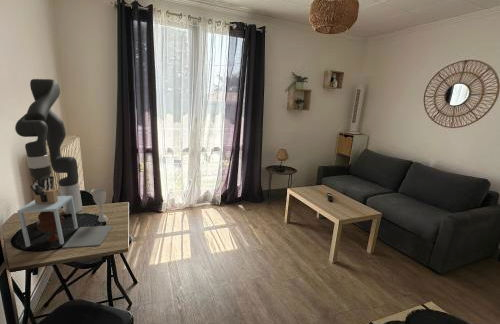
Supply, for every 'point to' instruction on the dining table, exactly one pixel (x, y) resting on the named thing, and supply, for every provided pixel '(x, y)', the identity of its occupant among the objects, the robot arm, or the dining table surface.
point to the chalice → (100, 201)
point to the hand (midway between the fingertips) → (46, 200)
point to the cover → (51, 205)
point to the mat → (88, 236)
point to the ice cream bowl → (49, 224)
